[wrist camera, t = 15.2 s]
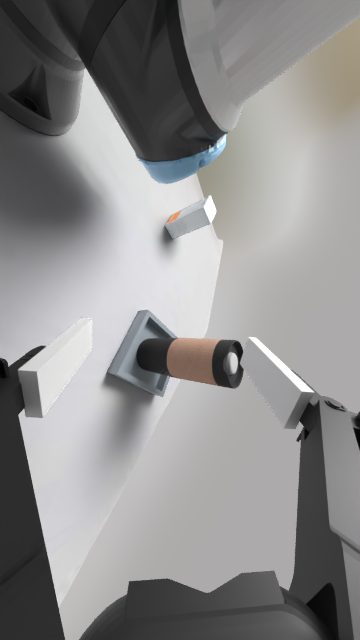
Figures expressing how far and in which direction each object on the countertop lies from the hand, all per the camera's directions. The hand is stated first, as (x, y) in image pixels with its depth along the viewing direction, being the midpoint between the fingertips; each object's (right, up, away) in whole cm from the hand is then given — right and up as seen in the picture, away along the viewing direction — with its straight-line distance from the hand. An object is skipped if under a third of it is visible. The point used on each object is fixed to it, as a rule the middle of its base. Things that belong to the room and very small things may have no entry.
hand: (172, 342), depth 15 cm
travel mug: (-7, -6, +25) cm, 27 cm away
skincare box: (-2, +28, +35) cm, 45 cm away
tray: (-7, -6, +26) cm, 27 cm away
